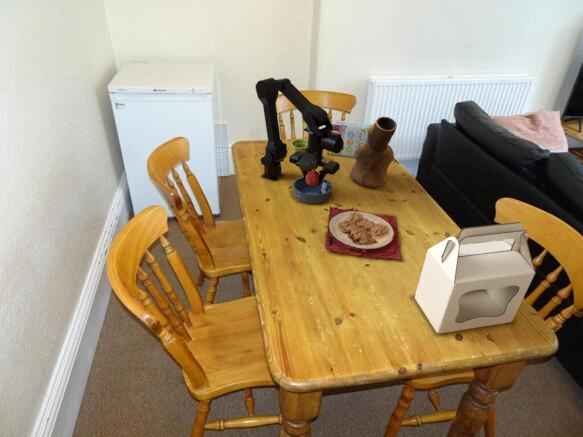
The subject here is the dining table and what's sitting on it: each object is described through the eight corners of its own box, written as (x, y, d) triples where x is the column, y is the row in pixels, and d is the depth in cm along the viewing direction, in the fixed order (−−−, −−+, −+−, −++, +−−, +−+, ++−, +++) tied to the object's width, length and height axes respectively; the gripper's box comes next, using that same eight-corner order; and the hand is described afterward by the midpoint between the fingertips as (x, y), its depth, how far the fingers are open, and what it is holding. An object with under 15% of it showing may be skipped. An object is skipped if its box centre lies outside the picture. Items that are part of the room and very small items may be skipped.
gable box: (436, 334, 104) (466, 247, 89) (413, 297, 115) (435, 214, 99) (513, 322, 109) (554, 237, 93) (483, 288, 119) (516, 206, 104)
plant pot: (311, 166, 181) (312, 148, 176) (290, 165, 181) (290, 147, 176) (311, 157, 189) (312, 139, 184) (290, 156, 189) (291, 138, 184)
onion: (304, 183, 161) (305, 165, 157) (318, 183, 162) (320, 165, 157) (305, 191, 156) (307, 172, 152) (320, 190, 157) (322, 172, 152)
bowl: (285, 197, 158) (285, 188, 156) (304, 181, 169) (304, 172, 167) (320, 208, 152) (321, 199, 150) (337, 191, 163) (338, 182, 161)
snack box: (374, 155, 192) (379, 124, 184) (373, 160, 188) (378, 129, 179) (329, 149, 196) (332, 119, 188) (328, 154, 192) (330, 123, 183)
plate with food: (324, 254, 130) (325, 245, 128) (329, 209, 151) (330, 201, 149) (400, 263, 128) (402, 254, 126) (394, 216, 149) (396, 208, 147)
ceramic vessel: (383, 171, 179) (395, 103, 162) (395, 197, 161) (410, 124, 144) (347, 171, 178) (355, 102, 161) (355, 196, 160) (365, 123, 143)
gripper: (282, 146, 147) (281, 184, 156) (328, 159, 140) (325, 198, 148) (297, 136, 155) (295, 173, 164) (342, 148, 148) (338, 185, 156)
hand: (312, 182), depth 158 cm, fingers closed on onion, 6 cm apart
